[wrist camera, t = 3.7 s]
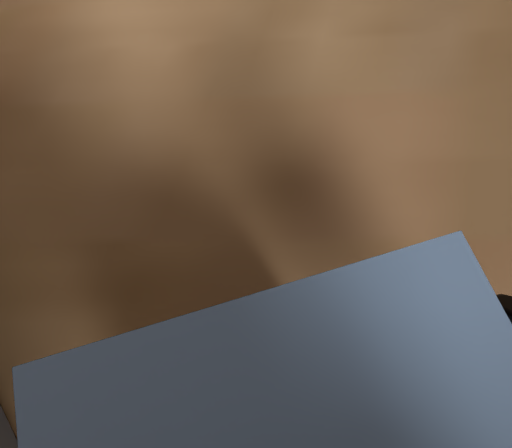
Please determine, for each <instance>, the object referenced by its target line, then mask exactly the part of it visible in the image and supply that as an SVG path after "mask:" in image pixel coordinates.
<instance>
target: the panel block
mask: <svg viewBox="0 0 512 448" xmlns="http://www.w3.org/2000/svg"><path fill="white" fill-rule="evenodd" d="M12 373H13V387H14V400H15V413H16V426H17V440H18V448H512V324H511V322H510V320H509V318H508V316H507V314H506V313H505V311H504V309H503V307H502V305H501V303H500V302H499V300H498V298H497V296H496V294H495V292H494V290H493V289H492V287H491V285H490V283H489V281H488V279H487V278H486V276H485V274H484V272H483V270H482V268H481V267H480V265H479V263H478V261H477V259H476V257H475V255H474V254H473V252H472V250H471V248H470V246H469V244H468V243H467V241H466V239H465V237H464V235H463V233H462V231H458V232H455V233H451V234H448V235H445V236H441V237H438V238H435V239H432V240H428V241H425V242H422V243H418V244H415V245H412V246H409V247H405V248H402V249H399V250H395V251H392V252H389V253H386V254H382V255H379V256H376V257H372V258H369V259H366V260H363V261H359V262H356V263H353V264H349V265H346V266H343V267H340V268H336V269H333V270H330V271H326V272H323V273H320V274H317V275H313V276H310V277H307V278H304V279H300V280H297V281H294V282H290V283H287V284H284V285H281V286H277V287H274V288H271V289H267V290H264V291H261V292H258V293H254V294H251V295H248V296H244V297H241V298H238V299H235V300H231V301H228V302H225V303H221V304H218V305H215V306H212V307H208V308H205V309H202V310H199V311H195V312H192V313H189V314H185V315H182V316H179V317H176V318H172V319H169V320H166V321H162V322H159V323H156V324H153V325H149V326H146V327H143V328H139V329H136V330H133V331H130V332H126V333H123V334H120V335H116V336H113V337H110V338H107V339H103V340H100V341H97V342H93V343H90V344H87V345H84V346H80V347H77V348H74V349H70V350H67V351H64V352H61V353H57V354H54V355H51V356H48V357H44V358H41V359H38V360H34V361H31V362H28V363H25V364H21V365H18V366H15V367H12Z"/></svg>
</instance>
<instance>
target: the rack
mask: <svg viewBox="0 0 512 448" xmlns="http://www.w3.org/2000/svg"><path fill="white" fill-rule="evenodd" d="M0 448H18V441H17V439H16V437H15V435H14V433H13V431H12V429H11V426H10V424H9V422H8V420H7V418H6V416H5V414H4V412H3V410H2V407H1V405H0Z"/></svg>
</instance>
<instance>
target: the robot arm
mask: <svg viewBox="0 0 512 448" xmlns="http://www.w3.org/2000/svg"><path fill="white" fill-rule="evenodd" d="M496 296H497V298H498V300H499V302H500V303H501V305H502V307H503V309H504V311H505V313H506V314H507V316H508V318H509V320H510V322H511V324H512V296H508V295H504V294H498V295H496Z"/></svg>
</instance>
